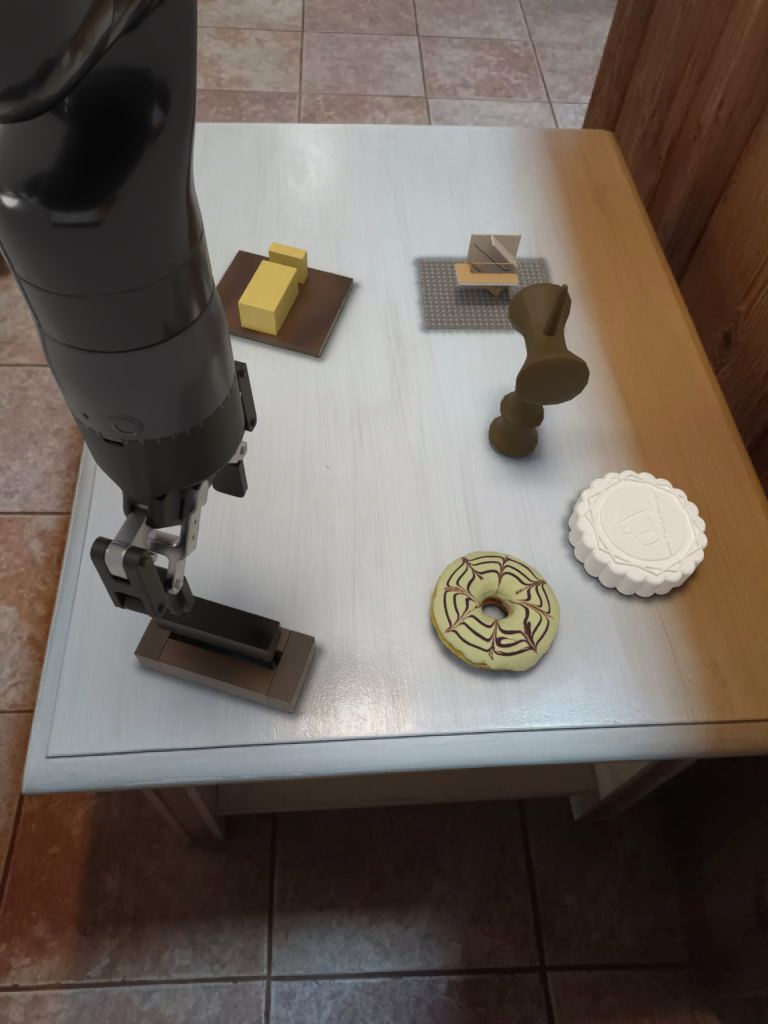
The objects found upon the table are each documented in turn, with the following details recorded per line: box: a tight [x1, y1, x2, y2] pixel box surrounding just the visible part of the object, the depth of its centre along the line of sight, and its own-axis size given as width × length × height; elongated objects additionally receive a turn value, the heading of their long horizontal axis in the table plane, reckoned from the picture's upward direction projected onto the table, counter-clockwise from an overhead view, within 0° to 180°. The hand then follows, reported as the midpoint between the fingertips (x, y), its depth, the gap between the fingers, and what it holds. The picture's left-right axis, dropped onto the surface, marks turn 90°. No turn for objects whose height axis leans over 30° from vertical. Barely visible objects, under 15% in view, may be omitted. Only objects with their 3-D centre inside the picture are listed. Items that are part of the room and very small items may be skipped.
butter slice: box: [267, 241, 309, 284], centre depth 81 cm, size 4×2×4 cm, turn 74°
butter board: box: [216, 249, 354, 358], centre depth 81 cm, size 14×12×1 cm
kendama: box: [488, 282, 591, 458], centre depth 65 cm, size 6×10×20 cm, turn 1°
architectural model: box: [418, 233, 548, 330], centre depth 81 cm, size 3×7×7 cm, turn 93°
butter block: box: [238, 260, 299, 336], centre depth 78 cm, size 4×7×4 cm, turn 164°
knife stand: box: [133, 617, 317, 714], centre depth 59 cm, size 13×6×3 cm, turn 74°
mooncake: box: [568, 469, 709, 598], centre depth 66 cm, size 12×12×4 cm
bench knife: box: [154, 594, 282, 671], centre depth 56 cm, size 9×2×8 cm, turn 74°
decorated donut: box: [430, 550, 561, 672], centre depth 61 cm, size 10×11×4 cm
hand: (205, 544), depth 46 cm, fingers open, 8 cm apart
